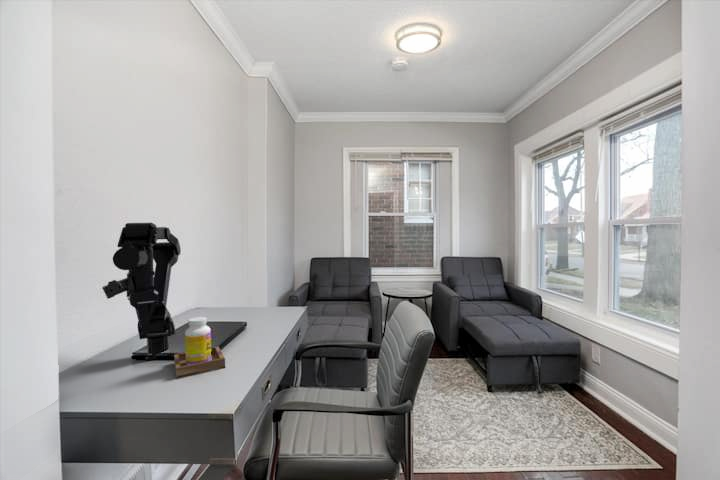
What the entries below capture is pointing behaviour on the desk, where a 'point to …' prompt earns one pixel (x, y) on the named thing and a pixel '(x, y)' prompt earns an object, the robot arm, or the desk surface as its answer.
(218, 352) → the walnut tray
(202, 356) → the supplement bottle
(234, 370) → the desk surface
